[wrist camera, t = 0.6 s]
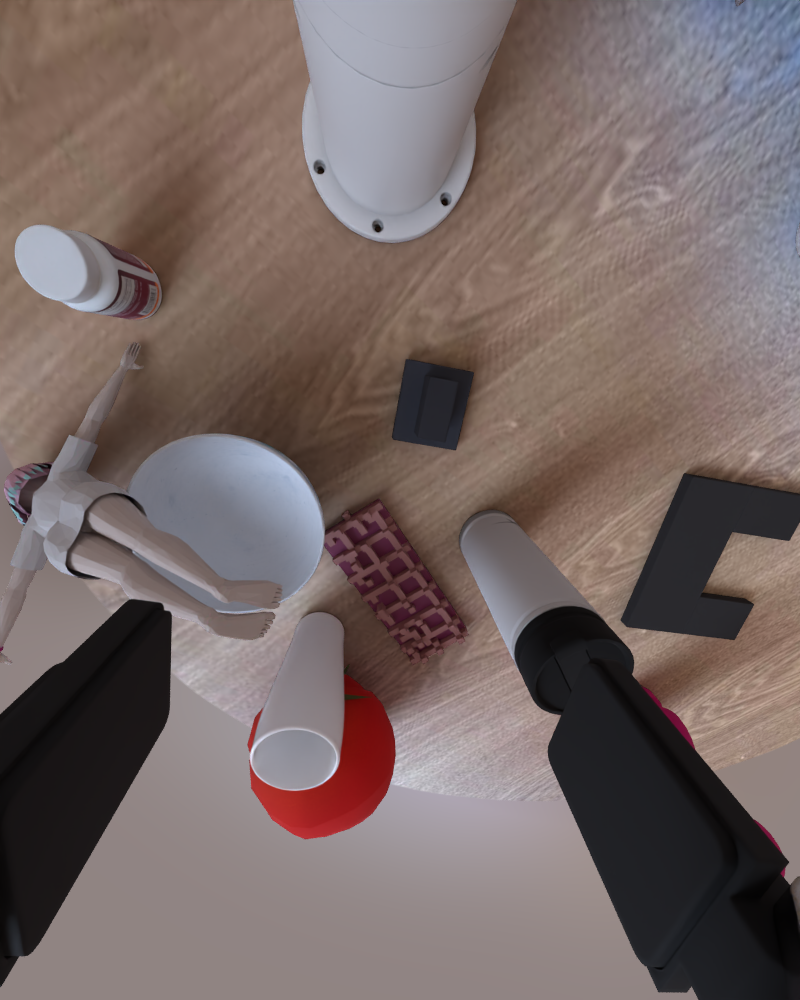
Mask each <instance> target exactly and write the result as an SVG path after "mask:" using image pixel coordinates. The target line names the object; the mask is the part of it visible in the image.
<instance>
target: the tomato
mask: <svg viewBox="0 0 800 1000" xmlns="http://www.w3.org/2000/svg"><path fill="white" fill-rule="evenodd" d="M349 665H350V664H349ZM349 665H348V666H347V667H346V668H345V669H344V701H345V713H344V730H343V740H342V748H341V755H340V762H339V766H338V768H337V770H336V772H335V773H334V774H333V776H332V777H331V778H330V779H328V780H327V781H326V782H324V783H323V784H321V785H319V786H316V787H314V788H310V789H306V790H298V791H291V790H283V789H279V788H275V787H273V786H271V785H268V784H267V783H265V782H264V781H262V780H261V779H260V778H259V777H258V776H257V775H256V774H255V773H254V771H253V769H252V767H251V764H250V776H251V789H252V790H253V791H254V793H255V794H256V796H257V797H258V799H259V800H260V802H261V803H262V805H263V806H264V808H265V809H266V811H267V812H268V814H269V815H270V817H271V819H272V820H273V821H275V822H276V823H278V824H279V825H280V826H282V827H283V828H285V829H286V830H288V831H289V832H291V833H292V834H294V835H296V836H299V837H301V838H304V839H310V838H317V837H326V836H329V835H332V834H335V833H338V832H341V831H344V830H347V829H350V828H351V827H353V826H355V825H357V824H359V823H361V822H362V821H364V820H365V819H366V818H367V817H368V816H370V815H371V814H372V813H373V812H374V810H375V809H376V808H377V806H378V805H379V804H380V802H381V801H382V799H383V798H384V796H385V795H386V793H387V791H388V788H389V785H390V782H391V778H392V775H393V770H394V763H395V756H396V754H395V738H394V733H393V728H392V726H391V723H390V721H389V719H388V716H387V714H386V711H385V709H384V707H383V705H382V703H381V702H380V701H379V699H378V698H377V697H376V696H375V695H374V694H373V693H372V692H371V691H367V690H364V688H363V687H362V686H361V685H360V684H359V683H357V682H356V681H355V680H354V679H352V678H351V677H350V676H348V675H346V674H345V673H346V671H347V669H348V667H349ZM263 708H264V707H263ZM263 708H262V710H263ZM262 710H261V711H260V712H259V713H258V714H257V716H256V717H255V719H254V723H253V727H252V730H251V734H250V738H249V741H248V748H249V751H250V752H251V748H252V745H253V741H254V737H255V733H256V729H257V726H258V723H259V719H260V716H261V713H262ZM249 763H250V760H249Z"/></svg>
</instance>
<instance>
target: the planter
mask: <svg viewBox="0 0 800 1000" xmlns="http://www.w3.org/2000/svg"><path fill="white" fill-rule="evenodd" d="M744 1H745V0H735V3H736V6H739V5H740V4H742V3H743V2H744Z"/></svg>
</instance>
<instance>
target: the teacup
mask: <svg viewBox="0 0 800 1000" xmlns="http://www.w3.org/2000/svg"><path fill="white" fill-rule="evenodd" d="M796 249H797V252H798V255H799V257H800V223H799V226H798V230H797V235H796Z"/></svg>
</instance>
